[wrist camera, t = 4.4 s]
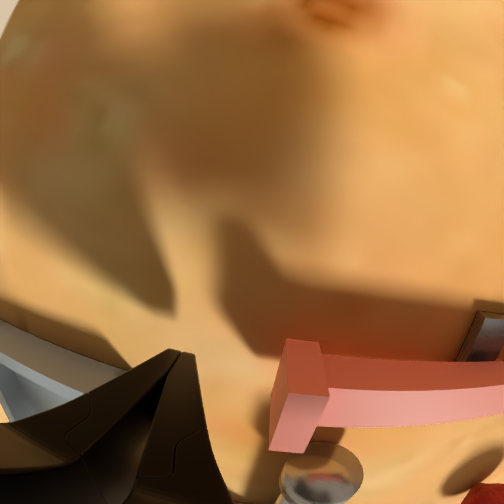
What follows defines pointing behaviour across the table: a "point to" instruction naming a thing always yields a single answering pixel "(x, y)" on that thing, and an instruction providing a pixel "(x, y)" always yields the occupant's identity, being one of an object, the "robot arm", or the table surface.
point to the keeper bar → (374, 393)
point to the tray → (43, 373)
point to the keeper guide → (483, 338)
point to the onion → (485, 494)
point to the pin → (320, 475)
